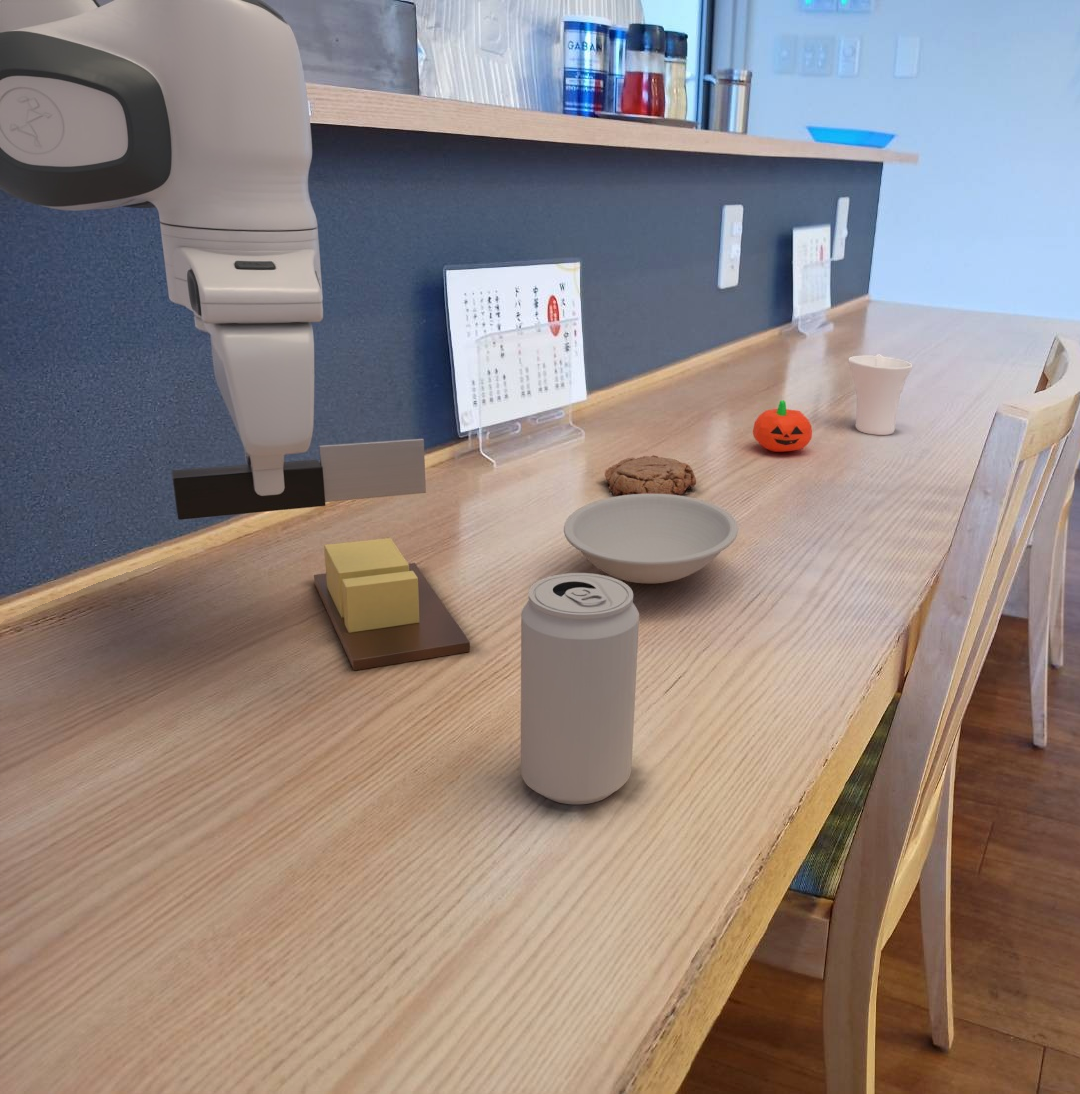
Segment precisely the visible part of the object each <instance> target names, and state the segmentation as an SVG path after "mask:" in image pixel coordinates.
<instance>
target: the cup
mask: <svg viewBox="0 0 1080 1094" xmlns="http://www.w3.org/2000/svg"><path fill="white" fill-rule="evenodd" d="M847 364H848V367H849V369H850V372H851V375H852V379H853V386H854V390H855V395H856V415H855V416H856V417H855V425H854V426H855V428H856V430H857V431H859V432H861V433H864V434H869V435H877V436H888V435H892V434H894V432H895V430H896V420H897V413H898V407H899V402H900V397H901V394H902V393H903V389H904V386H905V384H906V380H907V378H908V377H909V375H910V373H911V371H912V370H913V368H914V364H912V363H911V362H910V361H907V360H904V359H901V358H897V357H892V356H891V357H890V356H883V355H882V354H881V353H877V354H876V355H869V354H868V355H867V354H866V355H853V356H850V357H848V359H847Z"/></svg>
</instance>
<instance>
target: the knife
mask: <svg viewBox="0 0 1080 1094" xmlns="http://www.w3.org/2000/svg"><path fill="white" fill-rule="evenodd" d="M318 452H319V453H318V454H319V460H318V459H304V460H292V461H291V460H290V461H284V466H283V474H284V486H285V488H284V491H283V492H282V493H281V494H278V495H266V496H261V495H258V494H257V493H256V491H255V489H254V487H253V482H252V473H251V464H250V465H246V464H239V465H238V464H237V465H223V466H210V467H197V468H183V469H173V470H171V479H172V486H173V493H174V494H173V495H174V502H175V510H176V517H177V519H178V520H192V519H198V518H199V519H203V518H212V517H224V516H232V515H233V516H234V515H235V516H236V515H243V514H244V515H245V514H256V513H265V512H266V513H267V512H276V511H286V510H295V509H297V510H298V509H307V508H319V507H326V503H333V502H342V501H354V500H364V499H376V498H385V497H396V496H397V497H398V496H408V495H417V494H427V485H426V484H427V483H426V459H425V440H424V438H410V439H409V438H408V439H396V440H395V439H394V440H382V441H381V440H380V441H367V442H365V441H364V442H352V443H351V442H350V443H336V444H335V443H334V444H323V445H322V444H321V445H318Z"/></svg>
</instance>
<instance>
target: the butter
mask: <svg viewBox="0 0 1080 1094" xmlns="http://www.w3.org/2000/svg"><path fill="white" fill-rule="evenodd" d="M323 548H324V562H325V573H326V579H327V588H328V590H329V592H330V595H331V597H332V599H333V601H334V603H335V605H336V607H337V609H338V611H339V613H340V615H341V617H342V618H344V605H343V589H342V579H349V578H357V577H365V576H374V575H382V574H390V573H398V572H406V571H409V564H410V563H408V561H407V560H406V559H405V557H404V555H403V554H402V553H401V551H400V550H399V548H398V546H397V545H396V544H395V542H394V541H393V539H392V538H391V537H386V538H378V539H377V538H376V539H368V540H359V541H358V540H357V541H350V542H349V541H347V542H339V543H329V544H324V545H323Z"/></svg>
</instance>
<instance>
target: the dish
mask: <svg viewBox="0 0 1080 1094" xmlns="http://www.w3.org/2000/svg"><path fill="white" fill-rule="evenodd" d="M563 533H564V537H565V539H566V541H567V542H568V543H569V544H570V545H571V546H572V547H573V548H575V549H577V551H580V553H581V554H582V555H583V556H584V557H585V558H586V560H588V561H589V562H590V563H591V564H592V565H593V566H595V567H596V568H597V569H599V570H600V571H602V572H604V573H605V574H607V575H608V576H610V577H612V578H615V579H618V580H620V581H625V582H630V583H635V584H636V583H637V584H664V583H665V584H666V583H670V582H674V581H678V580H682V579H684V578H686V577H689V576H691V575H693V574H695V573H697V572H699V571H700V570H702V569H703V568H705V567H706V566H708V565H709V564H710V563H711V562H712V561H713V560H714V559H715V558H716V557H717V556H718V555H719V554H720V553H722V551H724V550H725V549H727V548H729V547H730V546H731V545H732V544H733V543H734V542H735V540H736V538H737V537H738V534H739V525H738V521H737V520H736V518H735V516H733V515H732V514H731V513H730V512H729V511H727V510H726V509H724V508H723V507H721V506H719V505H717V504H715V503H712V502H709V501H706V500H703V499H700V498H696V497H690V496H686V495H671V494H631V495H622V496H611V497H607V498H603V499H599V500H595V501H593V502H590V503H587V504H586V505H583V506H581V507H580V508H578V509H576V510H575V511H573V512H572V513H571V514H570V515H569V516H568V517H567V518H566V520H565V522H564V525H563Z"/></svg>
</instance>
